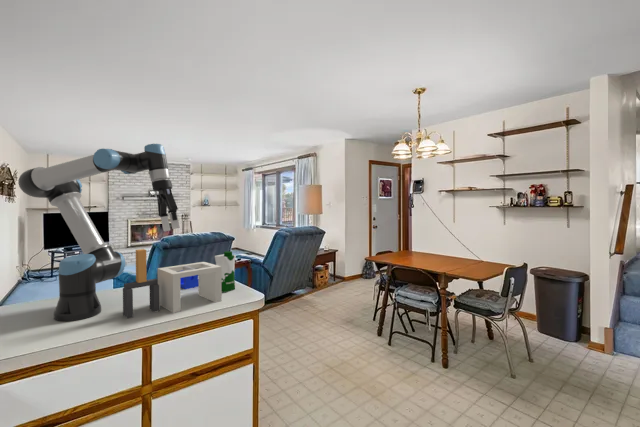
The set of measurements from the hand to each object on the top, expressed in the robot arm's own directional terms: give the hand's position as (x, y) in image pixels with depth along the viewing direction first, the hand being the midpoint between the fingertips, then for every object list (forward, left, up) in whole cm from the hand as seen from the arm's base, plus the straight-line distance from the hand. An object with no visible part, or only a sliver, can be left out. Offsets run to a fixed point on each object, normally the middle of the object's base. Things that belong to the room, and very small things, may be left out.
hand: (171, 229), depth 137 cm
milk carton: (+31, +8, -34) cm, 47 cm away
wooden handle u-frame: (-11, +2, -34) cm, 36 cm away
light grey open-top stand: (+9, +1, -34) cm, 35 cm away
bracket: (+26, +28, -34) cm, 51 cm away
